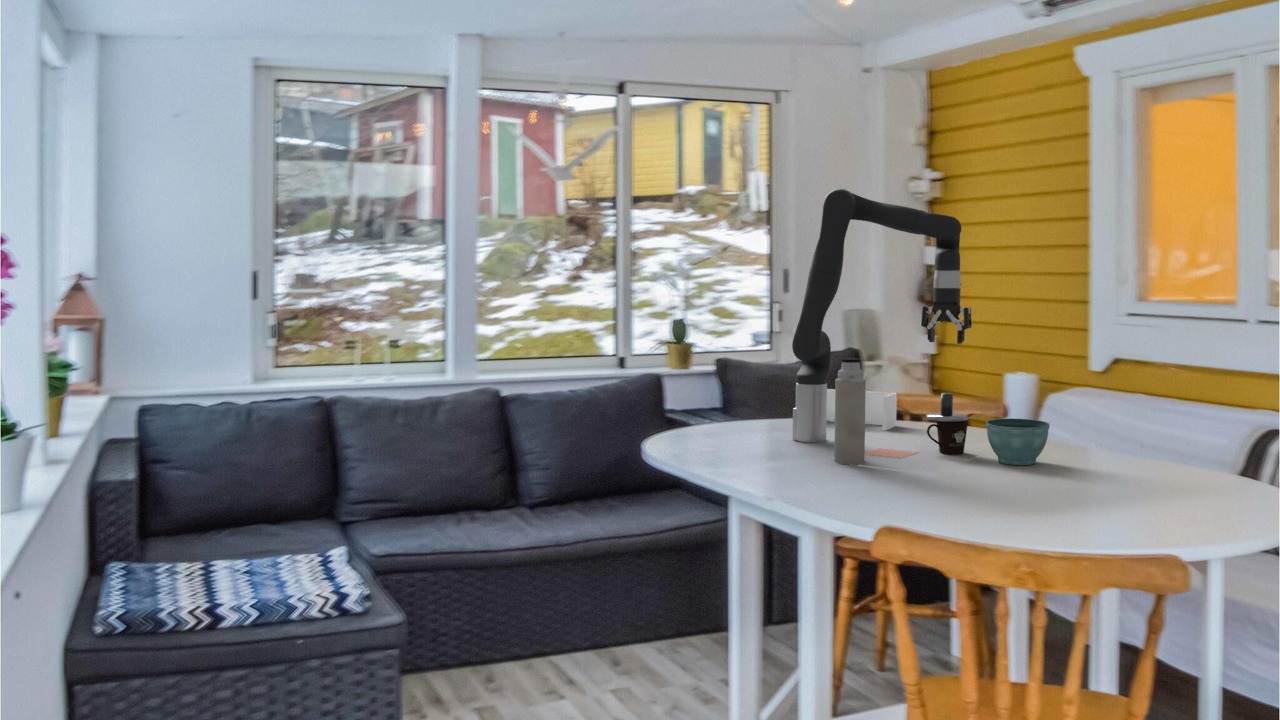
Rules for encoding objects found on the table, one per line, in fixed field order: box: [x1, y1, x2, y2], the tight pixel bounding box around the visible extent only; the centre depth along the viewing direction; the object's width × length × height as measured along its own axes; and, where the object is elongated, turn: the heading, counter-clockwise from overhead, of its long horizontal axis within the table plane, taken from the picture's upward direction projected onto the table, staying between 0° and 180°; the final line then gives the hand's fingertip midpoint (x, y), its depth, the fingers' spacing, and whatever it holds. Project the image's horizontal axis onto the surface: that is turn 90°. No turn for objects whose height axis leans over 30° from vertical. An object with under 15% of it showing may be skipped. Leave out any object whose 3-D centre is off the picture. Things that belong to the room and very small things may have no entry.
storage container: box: [827, 388, 898, 431], centre depth 375 cm, size 25×11×11 cm, turn 61°
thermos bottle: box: [833, 357, 867, 465], centre depth 308 cm, size 8×8×28 cm
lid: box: [925, 392, 968, 422], centre depth 319 cm, size 11×11×7 cm
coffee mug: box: [926, 418, 969, 456], centre depth 320 cm, size 12×9×10 cm
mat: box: [865, 447, 920, 460], centre depth 320 cm, size 12×12×1 cm
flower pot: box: [985, 418, 1051, 466], centre depth 307 cm, size 16×16×11 cm
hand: (945, 342), depth 331 cm, fingers open, 8 cm apart
